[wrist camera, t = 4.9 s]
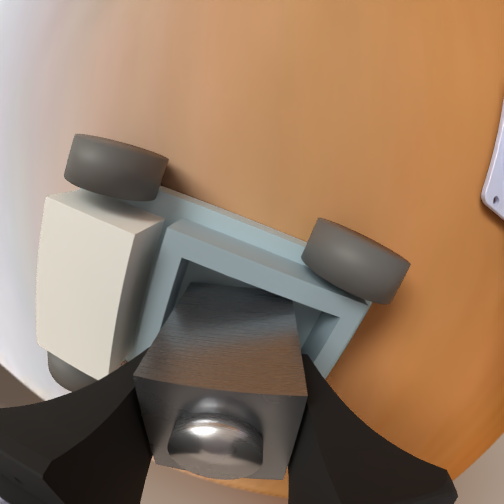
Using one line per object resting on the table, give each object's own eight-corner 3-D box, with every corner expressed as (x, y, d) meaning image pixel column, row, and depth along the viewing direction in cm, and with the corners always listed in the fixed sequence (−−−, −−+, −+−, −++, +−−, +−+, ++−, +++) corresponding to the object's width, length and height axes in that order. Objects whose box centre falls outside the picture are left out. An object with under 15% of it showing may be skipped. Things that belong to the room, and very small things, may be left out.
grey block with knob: (290, 290, 12) (310, 414, 5) (279, 369, 13) (283, 494, 6) (190, 282, 12) (122, 391, 5) (192, 361, 13) (151, 477, 7)
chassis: (387, 246, 13) (430, 277, 9) (284, 418, 16) (287, 473, 12) (107, 137, 12) (52, 131, 8) (71, 333, 15) (33, 371, 11)
